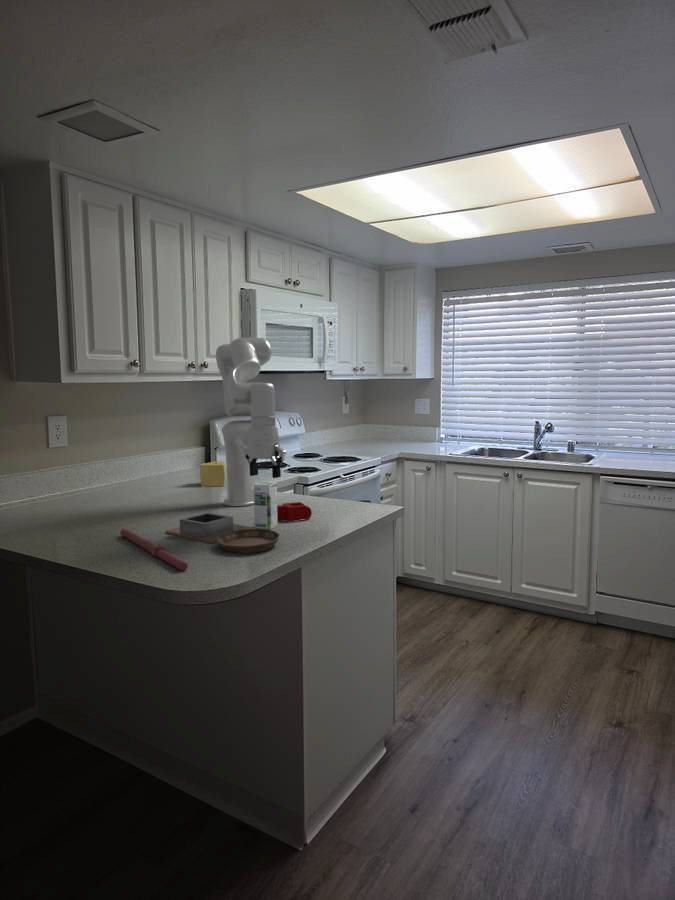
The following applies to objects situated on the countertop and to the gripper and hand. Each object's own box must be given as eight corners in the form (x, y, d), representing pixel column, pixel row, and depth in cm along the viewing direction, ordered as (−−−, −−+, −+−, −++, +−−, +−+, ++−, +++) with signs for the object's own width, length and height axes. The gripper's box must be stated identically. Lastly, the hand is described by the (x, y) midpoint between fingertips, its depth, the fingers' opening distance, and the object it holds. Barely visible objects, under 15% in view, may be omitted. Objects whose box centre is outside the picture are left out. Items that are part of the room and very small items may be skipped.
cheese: (202, 483, 283) (202, 461, 281) (226, 482, 284) (226, 461, 283) (200, 487, 272) (199, 464, 271) (225, 486, 274) (224, 464, 272)
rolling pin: (190, 571, 155) (189, 559, 155) (178, 574, 153) (177, 561, 153) (129, 536, 191) (128, 526, 191) (118, 537, 189) (118, 527, 189)
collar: (209, 521, 207) (209, 507, 206) (257, 530, 194) (257, 515, 193) (165, 533, 193) (165, 517, 192) (214, 543, 179) (213, 527, 179)
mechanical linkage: (304, 515, 215) (304, 501, 215) (311, 519, 209) (311, 505, 208) (260, 520, 209) (259, 505, 209) (265, 524, 203) (265, 509, 202)
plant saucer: (245, 559, 164) (245, 548, 164) (204, 548, 176) (204, 537, 176) (292, 545, 178) (292, 535, 177) (251, 535, 189) (251, 525, 189)
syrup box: (253, 528, 197) (252, 483, 195) (262, 524, 202) (261, 480, 200) (270, 530, 195) (268, 484, 193) (278, 525, 200) (277, 481, 198)
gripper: (235, 422, 196) (237, 476, 198) (275, 423, 186) (277, 479, 188) (251, 421, 202) (253, 473, 204) (292, 422, 192) (293, 476, 194)
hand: (265, 476), depth 196 cm, fingers open, 9 cm apart
